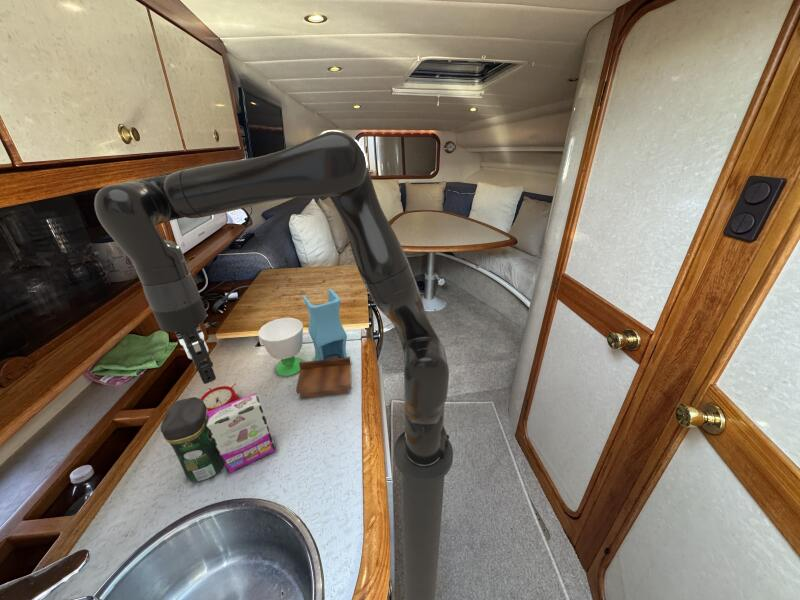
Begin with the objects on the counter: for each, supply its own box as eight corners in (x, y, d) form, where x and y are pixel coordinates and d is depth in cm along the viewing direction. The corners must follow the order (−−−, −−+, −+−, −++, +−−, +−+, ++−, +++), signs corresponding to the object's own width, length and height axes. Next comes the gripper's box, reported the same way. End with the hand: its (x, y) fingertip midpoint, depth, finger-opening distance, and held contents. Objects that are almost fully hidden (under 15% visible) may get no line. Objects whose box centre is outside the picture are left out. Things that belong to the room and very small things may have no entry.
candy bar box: (272, 437, 83) (257, 391, 75) (276, 451, 79) (261, 404, 71) (225, 458, 78) (204, 411, 70) (227, 474, 74) (206, 426, 66)
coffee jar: (193, 452, 79) (166, 398, 70) (227, 443, 81) (205, 389, 73) (183, 488, 71) (151, 432, 62) (222, 477, 73) (196, 421, 65)
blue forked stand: (339, 349, 116) (331, 288, 104) (350, 364, 108) (342, 300, 97) (313, 358, 112) (302, 295, 100) (322, 374, 104) (310, 308, 92)
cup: (274, 387, 99) (263, 346, 92) (264, 363, 109) (253, 325, 102) (316, 370, 106) (308, 331, 98) (303, 350, 116) (295, 313, 108)
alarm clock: (240, 379, 97) (228, 407, 83) (244, 397, 99) (233, 427, 85) (203, 386, 95) (184, 415, 81) (208, 404, 96) (190, 436, 82)
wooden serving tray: (351, 372, 105) (349, 357, 102) (351, 394, 96) (349, 378, 93) (302, 377, 103) (299, 362, 100) (298, 400, 94) (294, 384, 91)
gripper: (209, 307, 53) (234, 379, 61) (190, 281, 63) (215, 347, 71) (156, 323, 49) (191, 399, 57) (145, 293, 59) (176, 362, 66)
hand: (204, 370), depth 64 cm, fingers open, 8 cm apart
